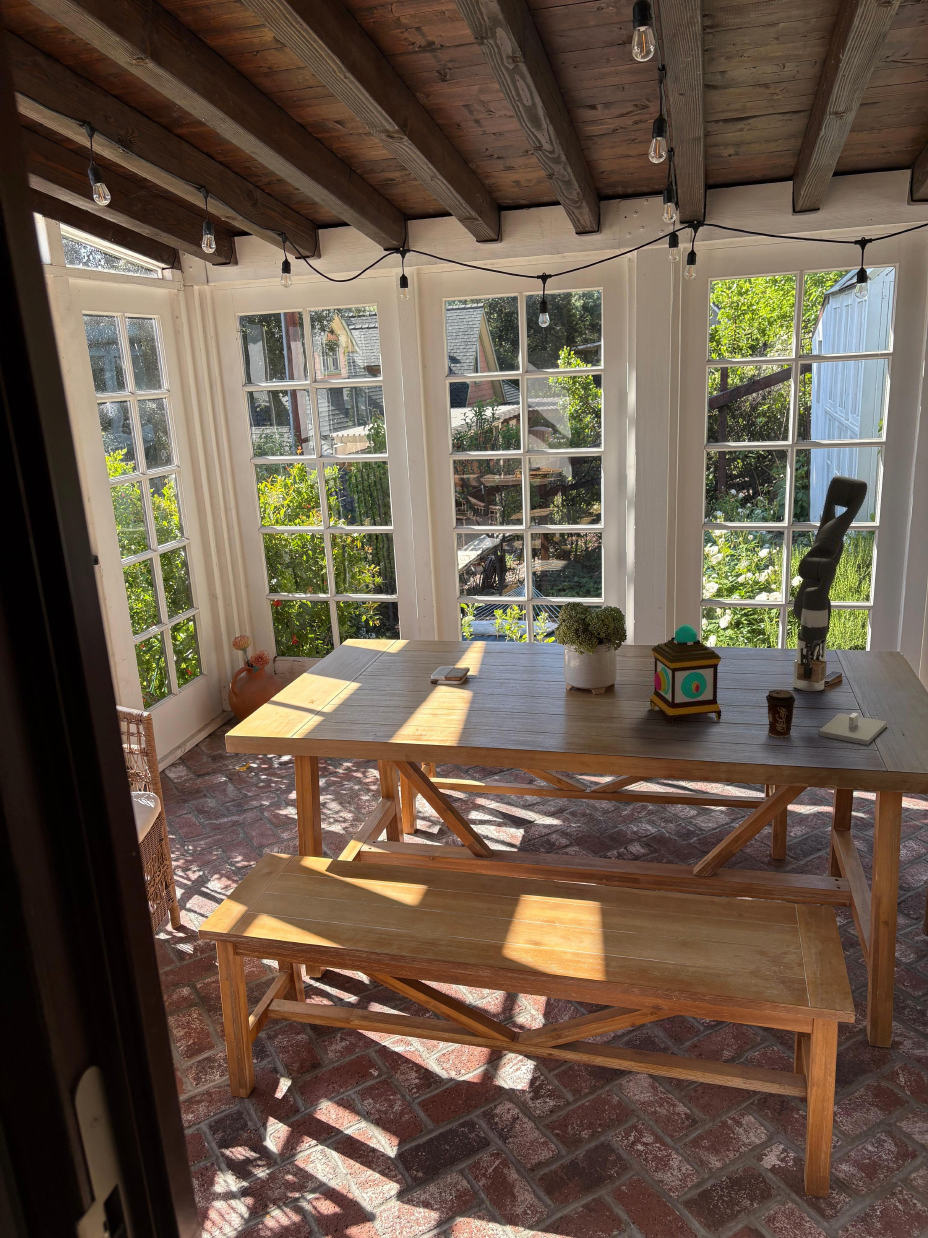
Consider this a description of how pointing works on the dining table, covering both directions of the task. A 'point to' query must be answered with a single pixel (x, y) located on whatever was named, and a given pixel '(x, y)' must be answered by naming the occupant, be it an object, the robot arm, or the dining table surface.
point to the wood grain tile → (853, 720)
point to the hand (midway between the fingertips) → (811, 675)
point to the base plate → (853, 729)
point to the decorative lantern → (685, 676)
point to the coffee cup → (780, 712)
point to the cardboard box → (813, 671)
